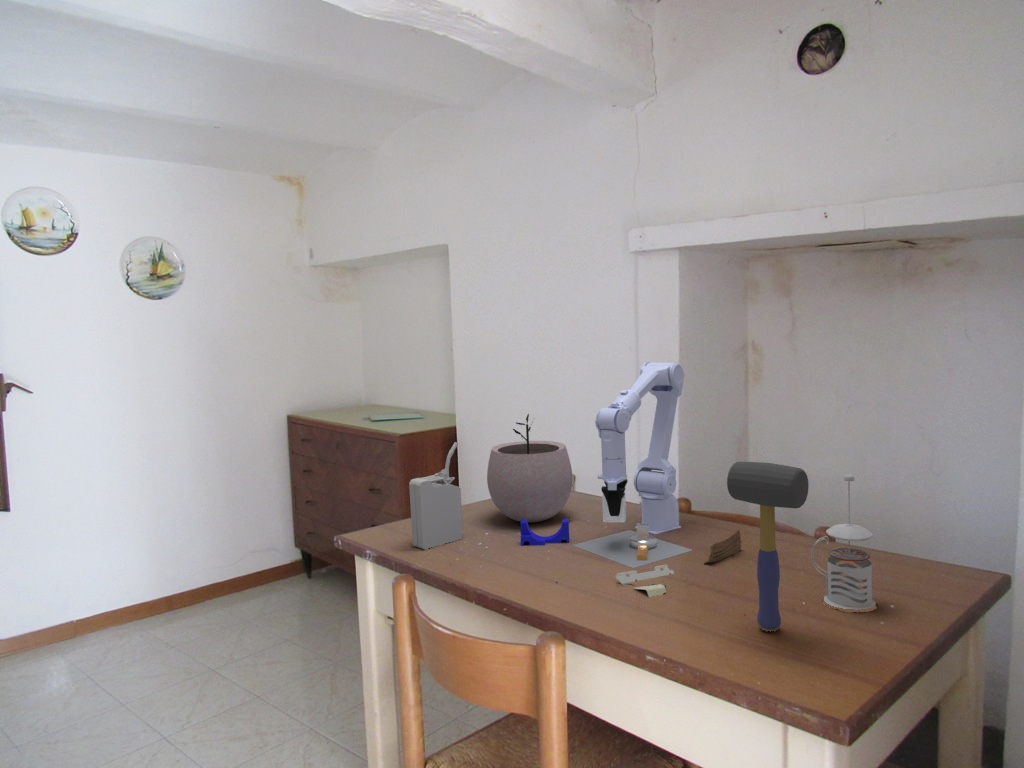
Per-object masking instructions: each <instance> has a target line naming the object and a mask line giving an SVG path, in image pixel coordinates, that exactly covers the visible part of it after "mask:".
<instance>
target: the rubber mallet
mask: <svg viewBox="0 0 1024 768" xmlns="http://www.w3.org/2000/svg"><path fill="white" fill-rule="evenodd" d="M726 477H727V478H726V486H727V487H726V488H727V490H728V494H729V495H730V497H731V498H733V499H734V500H735V501H736V500H737V501H741V502H745V503H750V504H755V505H759V538H760V539H759V550H758V553H757V563H756V564H757V565H756V567H757V568H756V579H757V585H758V612H757V616H756V618H757V619H756V621H757V623H758V625H759V627H760V629H761V631H764V630H765V631H764V632H768V631H770V632H769V633H772V632H771V631H774V632H776V630H777V629H778V628H779V627H780V626H781V624H782V619H781V615H780V611H779V610H780V609H779V607H780V606H779V588H780V578H781V574H780V573H781V572H780V571H781V569H780V561H779V553H778V551H777V548H776V546H777V545H776V543H777V542H776V513H775V512H776V510H775V509H776V508H783V509H784V508H786V509H800V508H801V507H802V506H804V504H805V503H806V501H807V498H808V494H809V477H808V474H807V472H806V471H805V470H804V469H802V468H800V467H795V466H790V465H785V464H778V463H773V462H760V461H736V462H734V463H733V464H732V465H731V467H730V468H729V471H728V473H727V476H726ZM777 631H778V630H777Z"/></svg>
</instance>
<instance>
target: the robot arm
mask: <svg viewBox="0 0 1024 768" xmlns="http://www.w3.org/2000/svg"><path fill="white" fill-rule="evenodd" d="M684 379H685V373H684V369H683V367H682V364H681V363H679V361H678V362H677V361H673V362H653V361H652V362H651V361H646V362H644V363H643V365H642V366H641V367H640V369H639V377H637V379H636V381H635V382H634V383H633V385H632V386H631V388H630V389H623V390H621V391H620V392H619V394H618V396H617V397H616V398H615V399H614V400H613V401H612V402H611V403H610V404H609V405H608V407H603V408H601V409H600V410H599V411H598V412H597V413H596V417H595V418H596V419H595V427H596V429H597V431H598V437H599V439H600V441H601V442H600V444H601V445H600V446H601V447H600V448H601V470H602V472H601V473H602V474H601V473H600V474H599V473H598V474H597V479H598V480H603V481H604V484H605V486H601V492H602V494H604V496H605V498H606V501H607V505H608V509H609V513H610V516H619V514H620V508H621V500H622V496H623V494H624V492H625V491H626V486H627V484H628V474H627V460H626V459H627V457H626V431H628V430H629V426H630V422H631V421H632V417H633V415H634V414H635V413H636V412H637V410H639V408H640V407H641V406H642V400H641V399H642V398H644V397H645V396H646V395H647V394H648V393H650V394H651V395H652V396H654V397H655V399H656V400H657V401H656V407H655V411H654V418H653V423H652V424H653V425H652V430H651V436H650V443H649V449H648V455H647V457H646V458H645V459H643V460H642V461H640V462H639V463H638V466H637V470H636V473H635V474H634V477H633V487H634V489H635V492H637V493H638V497H641V498H640V501H641V504H640V505H641V523H649V534H654V535H658V534H662V533H666V532H669V531H673V530H677V529H680V528H682V526H681V525H680V513H679V511H680V508H679V501H678V499H677V497H676V496H675V495H674V493H675V492H676V488H677V480H676V477H677V469H676V468H675V467H674V466H673V464H671V462H669V455H670V454H669V453H670V448H671V442H672V437H673V436H672V435H673V429H674V423H675V418H676V411H677V404H678V399H679V397H680V396H681V395H682V391H683V387H684ZM634 529H637V525H636V526H635V527H634Z"/></svg>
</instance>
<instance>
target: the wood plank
mask: <svg viewBox="0 0 1024 768" xmlns="http://www.w3.org/2000/svg"><path fill="white" fill-rule="evenodd" d="M741 539H742V538H741V531H740V529H737V530H736V531H735V533H733V534H732V535H731V536H729V537H728V538H726V539H724V540H722V541H720V542H717V543H714V544H712V545H711V546H710V555H709V556H708V560H707V561H705V562H704V563H703V565H706V564H711V563H715V562H718V561H721V560H724V559H726V558H727V557H729V556H731V555H732V556H734V555H736V554H737V553H738V552H740V551H741V550H742V542H743V541H742V540H741Z"/></svg>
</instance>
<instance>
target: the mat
mask: <svg viewBox="0 0 1024 768" xmlns="http://www.w3.org/2000/svg"><path fill="white" fill-rule="evenodd" d="M635 535H637V531H634V530H631V529H629V530H625V531H621V532H617V533H614V534H609V535H606V536H601V537H597V538H594V539H589V540H586V541H583V542H578V543H574V544H572V546H573V547H576V548H579V549H581V550H584V551H587V552H589V553H591V554H594V555H597V556H600V557H602V558H605V559H608V560H610V561H612V562H616V563H618V564H621V565H623V566H626V567H628V568H631V569H635V568H639V567H642V566H646V565H648V564H653V563H655V562H659V561H663V560H665V559H669V558H672V557H675V556H679V555H683V554H686V553H688V552H689V553H690V552H692V551H694V550H693V549H690V548H688V547H685V546H681V545H679V544H675V543H672V542H669V541H665V540H662V539H659V538H656V539H657V547H656V548H654V549H651V550H648V551H647V560H637V549H633V548H631V547H630V537H632V536H635Z"/></svg>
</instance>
